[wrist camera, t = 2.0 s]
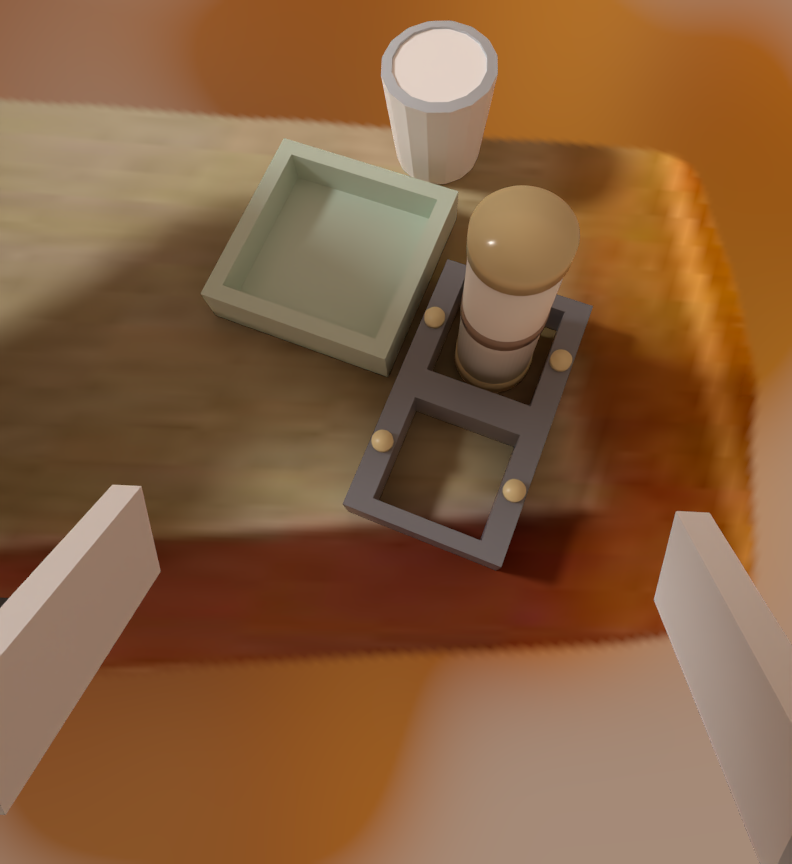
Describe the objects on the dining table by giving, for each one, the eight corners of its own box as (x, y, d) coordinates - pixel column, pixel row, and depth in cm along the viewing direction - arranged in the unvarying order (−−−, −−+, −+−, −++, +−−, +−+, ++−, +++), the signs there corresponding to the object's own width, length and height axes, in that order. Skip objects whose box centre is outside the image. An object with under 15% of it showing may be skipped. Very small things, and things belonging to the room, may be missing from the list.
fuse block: (348, 511, 36) (341, 502, 33) (446, 280, 40) (447, 255, 37) (496, 570, 35) (502, 566, 32) (582, 325, 39) (594, 302, 36)
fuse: (443, 377, 38) (452, 260, 26) (469, 313, 39) (489, 172, 27) (515, 403, 37) (560, 295, 25) (539, 337, 39) (593, 203, 26)
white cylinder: (496, 117, 43) (508, 26, 37) (477, 200, 42) (486, 120, 35) (400, 103, 44) (395, 11, 37) (377, 183, 42) (367, 102, 36)
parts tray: (215, 315, 40) (200, 293, 37) (293, 167, 43) (283, 138, 40) (387, 377, 38) (384, 359, 36) (456, 218, 41) (458, 191, 39)
